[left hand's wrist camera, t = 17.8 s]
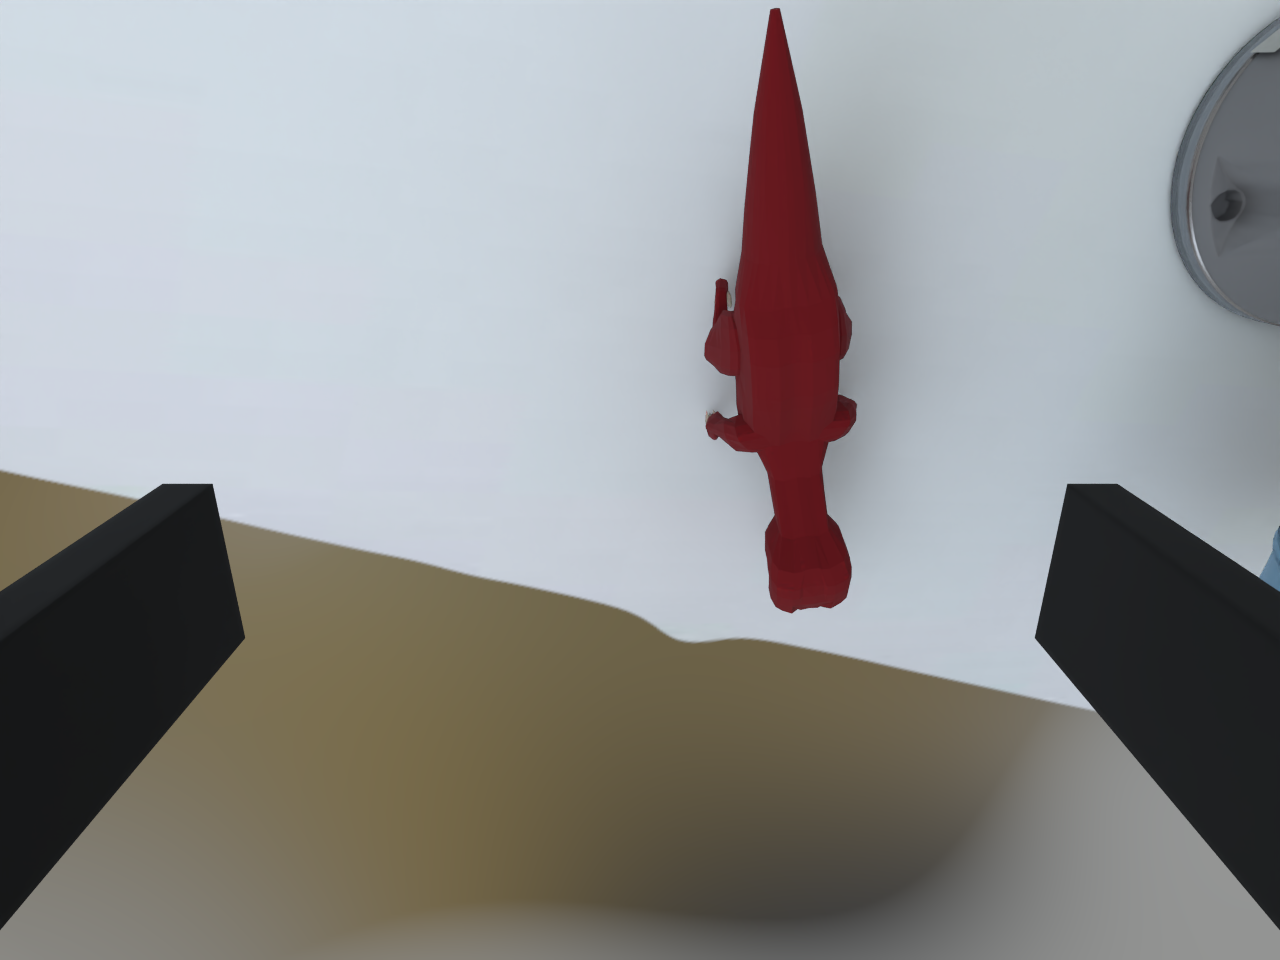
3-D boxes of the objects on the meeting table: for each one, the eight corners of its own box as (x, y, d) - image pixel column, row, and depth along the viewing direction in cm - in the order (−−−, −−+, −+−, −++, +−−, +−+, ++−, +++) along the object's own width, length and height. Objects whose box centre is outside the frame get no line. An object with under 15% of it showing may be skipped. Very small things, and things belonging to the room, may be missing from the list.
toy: (718, 553, 47) (740, 671, 37) (654, 45, 36) (663, 26, 26) (842, 536, 47) (897, 651, 37) (818, 17, 35) (889, -13, 26)
